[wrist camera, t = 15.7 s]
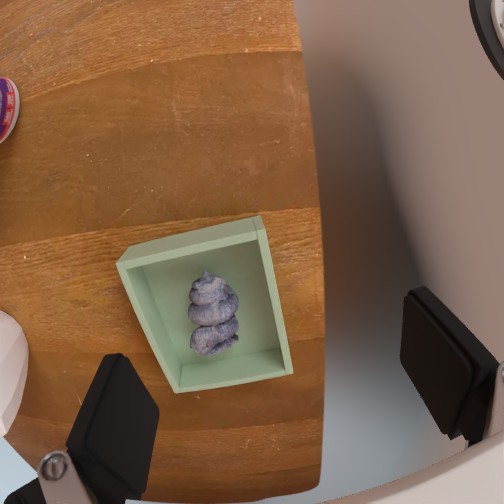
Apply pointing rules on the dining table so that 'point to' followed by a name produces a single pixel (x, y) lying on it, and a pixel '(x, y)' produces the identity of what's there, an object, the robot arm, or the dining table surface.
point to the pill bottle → (8, 107)
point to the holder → (177, 302)
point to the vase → (11, 369)
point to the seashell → (212, 315)
